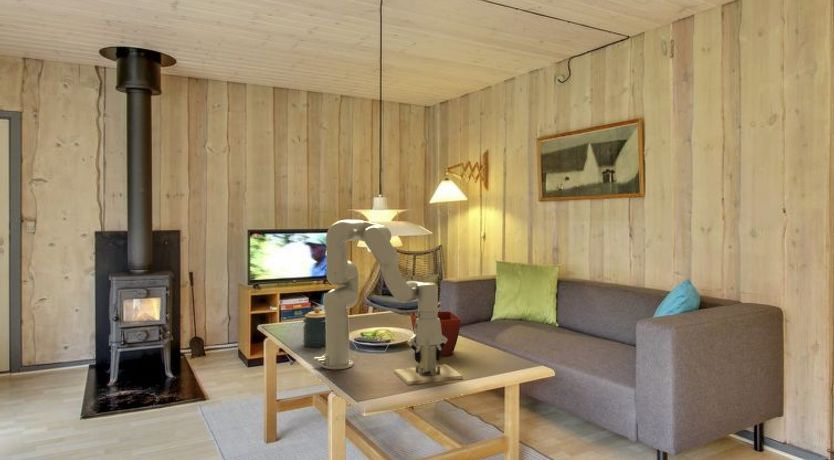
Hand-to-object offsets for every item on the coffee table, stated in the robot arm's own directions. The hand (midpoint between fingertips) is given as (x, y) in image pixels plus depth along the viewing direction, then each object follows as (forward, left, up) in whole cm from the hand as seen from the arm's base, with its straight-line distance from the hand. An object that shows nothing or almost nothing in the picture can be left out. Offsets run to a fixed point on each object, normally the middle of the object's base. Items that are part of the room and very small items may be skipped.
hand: (427, 360), depth 206 cm
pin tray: (0, 0, -6) cm, 6 cm away
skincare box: (0, 0, -4) cm, 4 cm away
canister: (-32, +63, -6) cm, 71 cm away
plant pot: (+15, +30, -6) cm, 34 cm away
